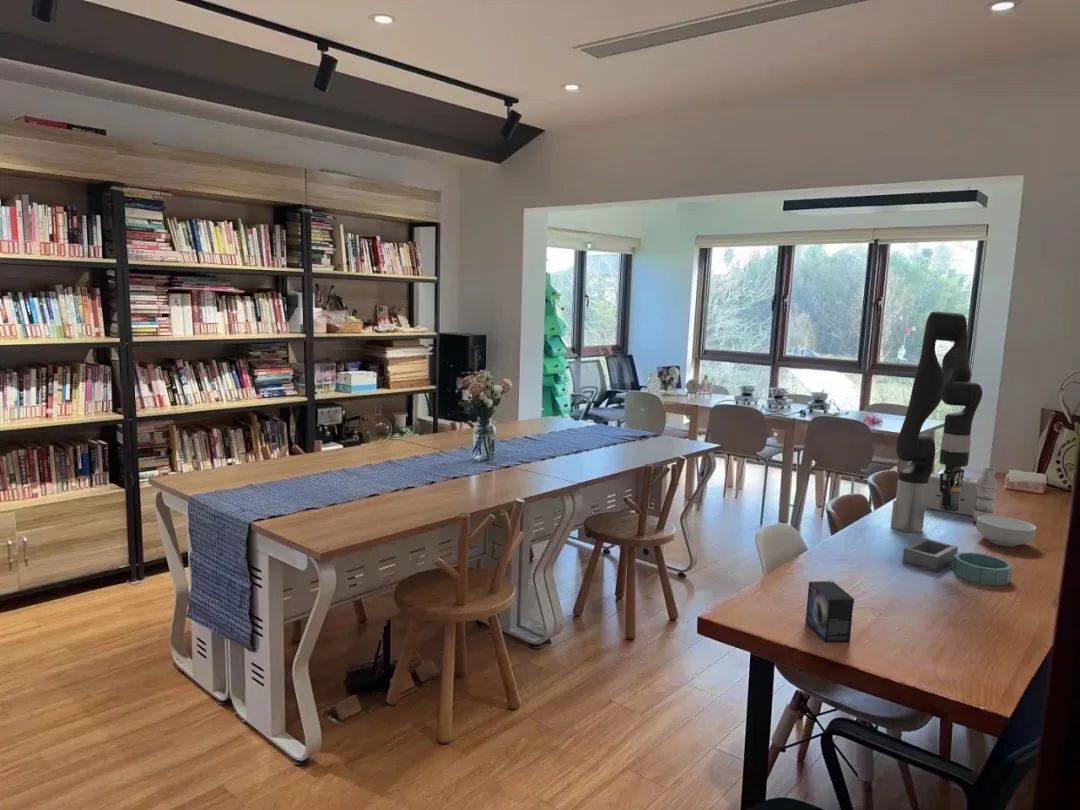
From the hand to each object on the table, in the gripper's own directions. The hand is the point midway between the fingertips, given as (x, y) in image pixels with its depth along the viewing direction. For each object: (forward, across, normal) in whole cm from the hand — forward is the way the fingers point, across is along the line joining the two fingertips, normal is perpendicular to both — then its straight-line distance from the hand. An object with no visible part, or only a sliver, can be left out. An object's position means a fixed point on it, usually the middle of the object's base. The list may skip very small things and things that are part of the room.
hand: (948, 504), depth 221 cm
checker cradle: (+18, +4, -2) cm, 18 cm away
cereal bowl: (+18, -37, +7) cm, 42 cm away
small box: (+19, +76, -1) cm, 78 cm away
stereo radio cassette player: (+17, -65, -17) cm, 69 cm away
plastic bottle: (+17, -56, -5) cm, 58 cm away
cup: (+18, +4, +12) cm, 22 cm away
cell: (+1, 0, 0) cm, 1 cm away
